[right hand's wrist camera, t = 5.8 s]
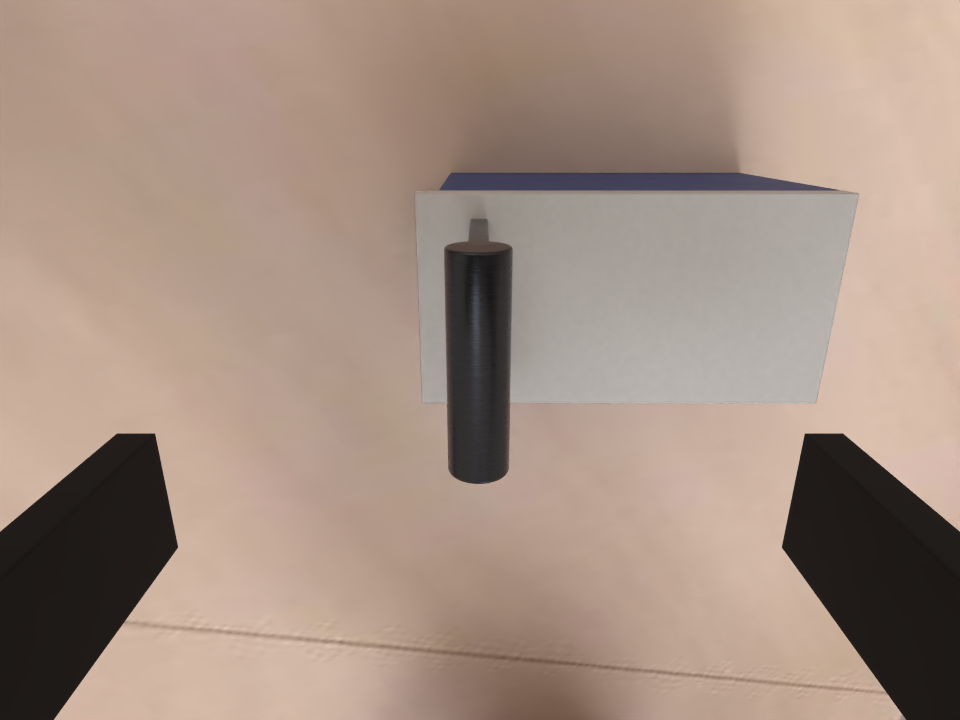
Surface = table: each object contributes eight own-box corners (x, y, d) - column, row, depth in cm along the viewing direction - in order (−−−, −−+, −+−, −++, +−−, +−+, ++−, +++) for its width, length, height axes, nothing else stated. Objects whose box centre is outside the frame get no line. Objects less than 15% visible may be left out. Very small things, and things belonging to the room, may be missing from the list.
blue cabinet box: (452, 324, 39) (442, 392, 29) (450, 173, 36) (438, 190, 26) (719, 324, 39) (802, 392, 29) (740, 173, 36) (842, 190, 26)
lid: (424, 392, 29) (399, 507, 20) (417, 190, 26) (384, 221, 17) (803, 393, 29) (943, 507, 20) (842, 190, 26) (1029, 222, 17)
